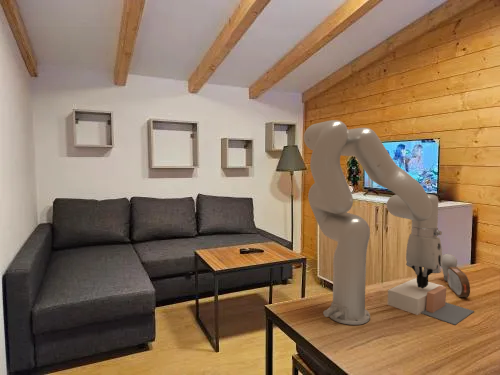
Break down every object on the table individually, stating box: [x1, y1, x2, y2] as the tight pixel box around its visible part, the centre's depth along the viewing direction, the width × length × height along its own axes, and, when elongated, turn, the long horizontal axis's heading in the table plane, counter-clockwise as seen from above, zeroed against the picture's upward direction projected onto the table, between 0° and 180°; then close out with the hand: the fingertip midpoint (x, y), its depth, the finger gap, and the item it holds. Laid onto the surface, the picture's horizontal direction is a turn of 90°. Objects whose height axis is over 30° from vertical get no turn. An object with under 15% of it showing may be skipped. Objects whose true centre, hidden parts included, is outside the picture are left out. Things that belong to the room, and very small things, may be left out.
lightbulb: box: [440, 253, 458, 283], centre depth 136 cm, size 6×6×11 cm
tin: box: [446, 266, 471, 299], centre depth 125 cm, size 15×3×8 cm, turn 168°
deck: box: [387, 277, 445, 316], centre depth 117 cm, size 18×10×5 cm, turn 128°
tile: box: [426, 285, 447, 313], centre depth 112 cm, size 9×6×2 cm
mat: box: [420, 301, 475, 326], centre depth 109 cm, size 14×10×1 cm
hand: (422, 286), depth 115 cm, fingers closed
